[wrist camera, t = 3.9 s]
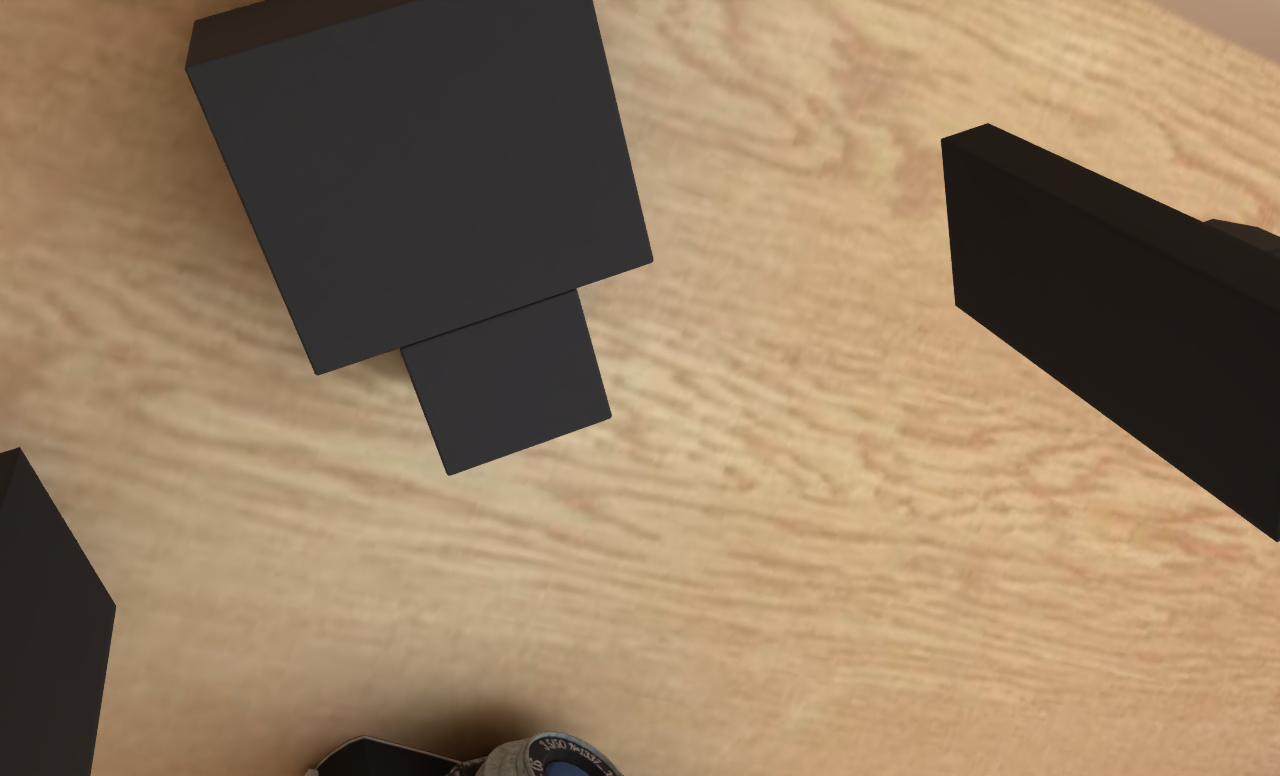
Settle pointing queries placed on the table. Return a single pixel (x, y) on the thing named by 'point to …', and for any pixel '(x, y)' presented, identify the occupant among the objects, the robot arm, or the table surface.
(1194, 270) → the robot arm
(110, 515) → the table surface
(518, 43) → the pad
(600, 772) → the camera
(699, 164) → the table surface
